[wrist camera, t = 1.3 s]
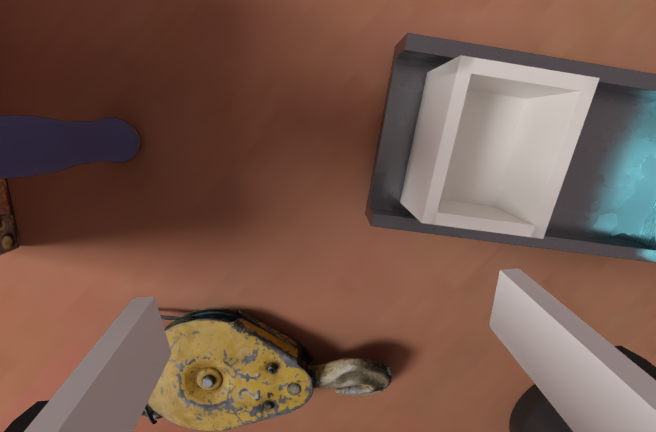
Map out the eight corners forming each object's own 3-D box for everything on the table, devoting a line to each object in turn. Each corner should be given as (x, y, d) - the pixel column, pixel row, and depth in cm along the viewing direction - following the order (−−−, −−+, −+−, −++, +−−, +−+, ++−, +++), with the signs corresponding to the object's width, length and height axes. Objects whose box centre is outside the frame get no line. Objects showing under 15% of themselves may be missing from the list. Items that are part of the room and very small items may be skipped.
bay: (698, 96, 30) (792, 88, 24) (631, 248, 34) (696, 274, 28) (395, 46, 28) (415, 24, 22) (365, 213, 33) (374, 233, 27)
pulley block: (390, 460, 34) (109, 444, 32) (380, 419, 40) (140, 403, 38) (407, 339, 32) (111, 316, 31) (393, 314, 38) (143, 294, 37)
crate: (533, 89, 28) (599, 78, 22) (495, 215, 32) (543, 238, 25) (427, 72, 28) (460, 55, 21) (399, 202, 31) (421, 223, 24)
